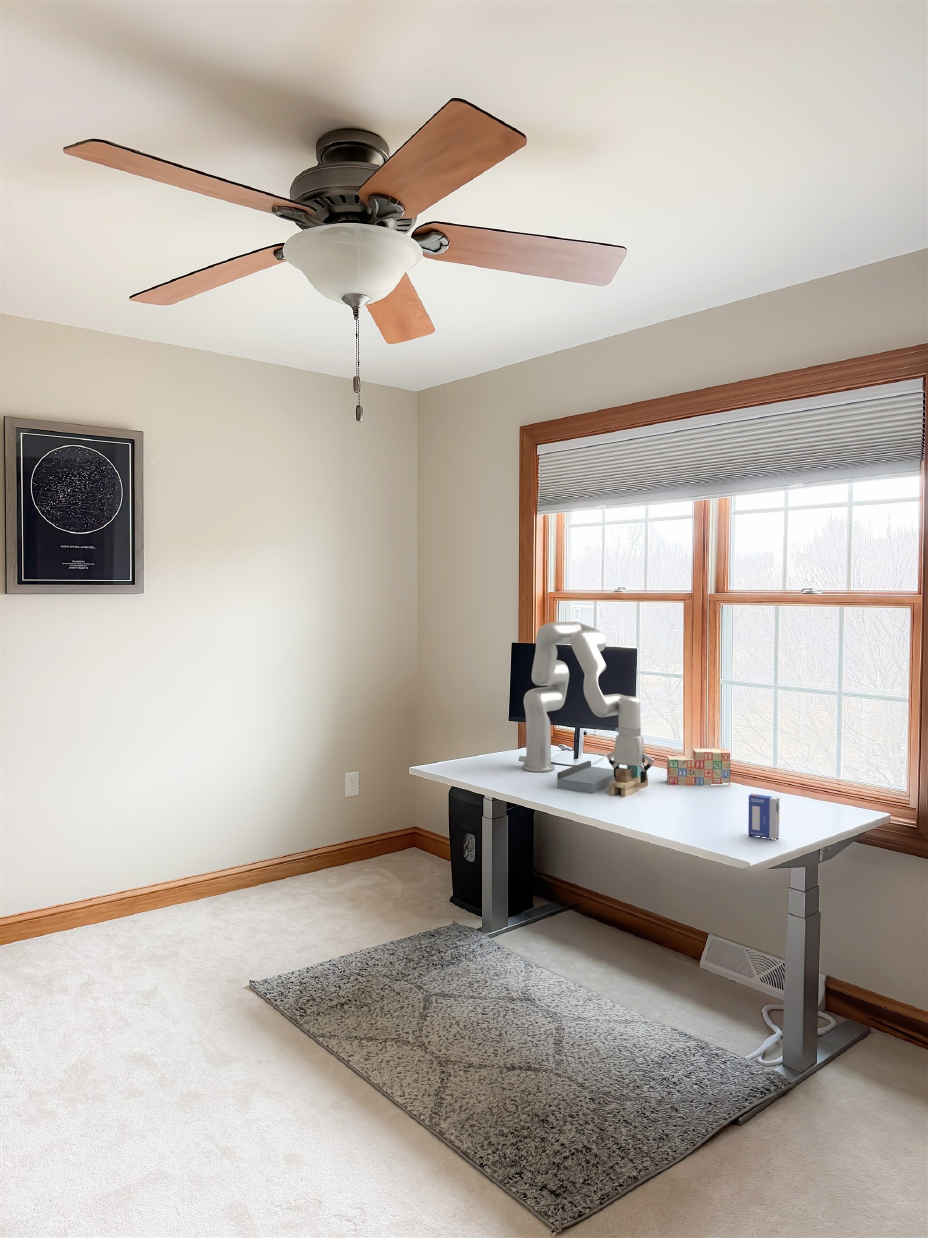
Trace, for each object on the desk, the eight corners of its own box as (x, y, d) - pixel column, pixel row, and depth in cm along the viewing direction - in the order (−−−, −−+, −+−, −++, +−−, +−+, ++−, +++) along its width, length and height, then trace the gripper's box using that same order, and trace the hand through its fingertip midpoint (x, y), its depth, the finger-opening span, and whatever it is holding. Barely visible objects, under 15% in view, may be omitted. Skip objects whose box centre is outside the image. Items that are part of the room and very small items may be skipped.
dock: (557, 788, 294) (557, 772, 294) (588, 775, 314) (588, 760, 313) (593, 793, 286) (593, 778, 286) (622, 780, 306) (622, 765, 305)
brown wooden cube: (615, 781, 287) (615, 770, 286) (620, 779, 290) (620, 767, 290) (626, 783, 284) (626, 771, 284) (631, 780, 288) (631, 769, 287)
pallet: (609, 795, 285) (609, 782, 285) (632, 784, 301) (632, 772, 300) (625, 798, 282) (625, 785, 281) (647, 786, 297) (647, 774, 297)
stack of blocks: (668, 785, 298) (669, 751, 298) (666, 781, 304) (666, 747, 304) (730, 786, 296) (730, 752, 295) (727, 782, 302) (727, 748, 301)
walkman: (748, 836, 237) (748, 794, 237) (751, 833, 240) (751, 792, 239) (776, 840, 233) (777, 798, 232) (779, 838, 235) (779, 796, 235)
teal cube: (626, 776, 294) (626, 765, 294) (631, 774, 298) (631, 763, 297) (637, 777, 292) (637, 766, 292) (642, 775, 295) (642, 764, 295)
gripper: (602, 731, 292) (602, 780, 293) (648, 735, 282) (649, 785, 283) (611, 728, 298) (612, 776, 299) (657, 732, 288) (657, 781, 289)
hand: (630, 780), depth 291 cm, fingers open, 9 cm apart
